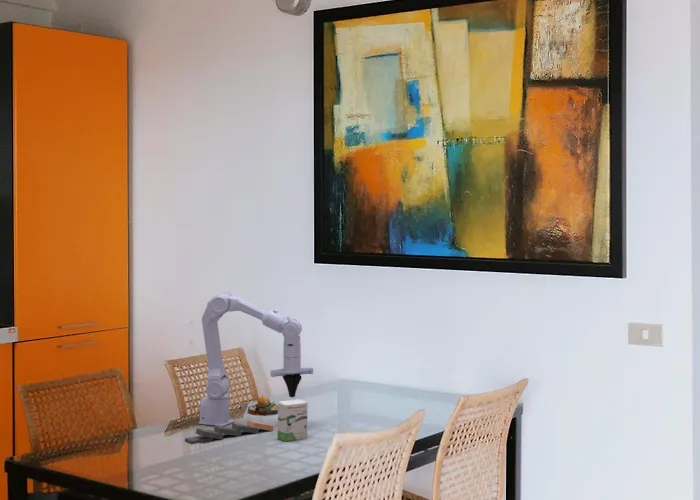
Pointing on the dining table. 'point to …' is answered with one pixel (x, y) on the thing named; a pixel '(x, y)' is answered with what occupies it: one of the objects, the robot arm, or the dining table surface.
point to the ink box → (292, 420)
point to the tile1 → (260, 425)
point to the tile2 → (244, 428)
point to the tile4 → (209, 433)
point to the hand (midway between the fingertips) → (292, 396)
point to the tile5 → (198, 439)
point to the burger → (263, 407)
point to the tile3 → (227, 430)
